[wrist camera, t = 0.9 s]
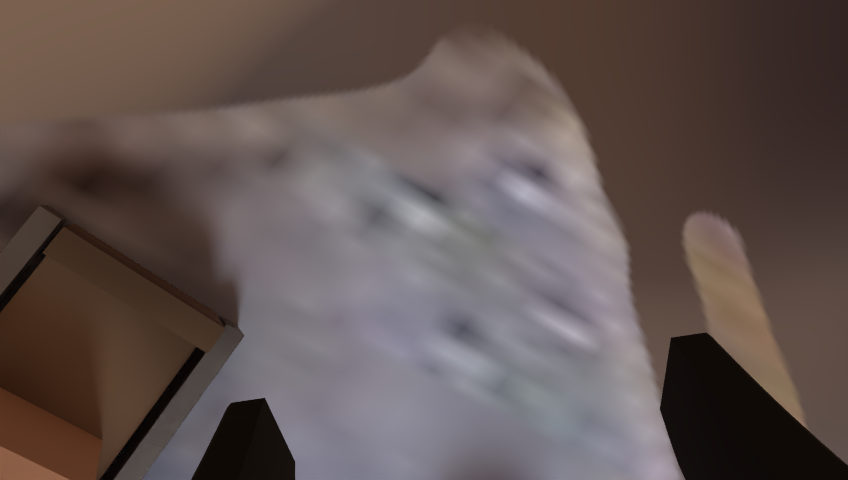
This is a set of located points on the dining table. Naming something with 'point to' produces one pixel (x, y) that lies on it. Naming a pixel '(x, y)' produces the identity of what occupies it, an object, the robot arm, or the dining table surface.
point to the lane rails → (183, 392)
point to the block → (43, 444)
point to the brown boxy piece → (98, 338)
